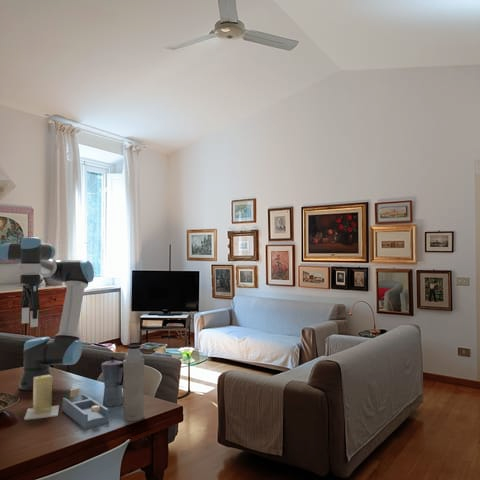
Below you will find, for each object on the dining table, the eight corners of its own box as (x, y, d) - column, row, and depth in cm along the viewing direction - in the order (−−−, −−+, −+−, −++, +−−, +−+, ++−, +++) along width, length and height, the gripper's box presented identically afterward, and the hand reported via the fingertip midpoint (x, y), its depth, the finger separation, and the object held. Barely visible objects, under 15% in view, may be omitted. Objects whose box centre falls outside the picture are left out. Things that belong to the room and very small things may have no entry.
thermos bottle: (120, 421, 165) (120, 347, 167) (126, 413, 173) (126, 343, 175) (140, 421, 165) (141, 347, 166) (146, 413, 173) (146, 343, 174)
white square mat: (27, 410, 178) (27, 408, 178) (59, 406, 182) (59, 405, 182) (24, 420, 167) (24, 418, 167) (57, 416, 171) (57, 414, 171)
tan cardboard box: (32, 412, 174) (33, 377, 175) (48, 408, 178) (49, 374, 179) (35, 414, 171) (36, 379, 172) (51, 411, 175) (52, 376, 175)
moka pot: (111, 397, 193) (112, 352, 194) (134, 404, 184) (135, 357, 185) (93, 403, 186) (94, 356, 186) (116, 410, 177) (117, 361, 178)
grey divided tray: (62, 410, 177) (62, 390, 178) (84, 405, 183) (84, 386, 183) (84, 428, 158) (85, 406, 158) (108, 422, 164) (108, 401, 164)
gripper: (13, 273, 189) (12, 322, 188) (28, 275, 169) (27, 329, 169) (31, 273, 193) (31, 320, 192) (48, 274, 174) (48, 327, 173)
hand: (29, 324), depth 180 cm, fingers open, 13 cm apart
